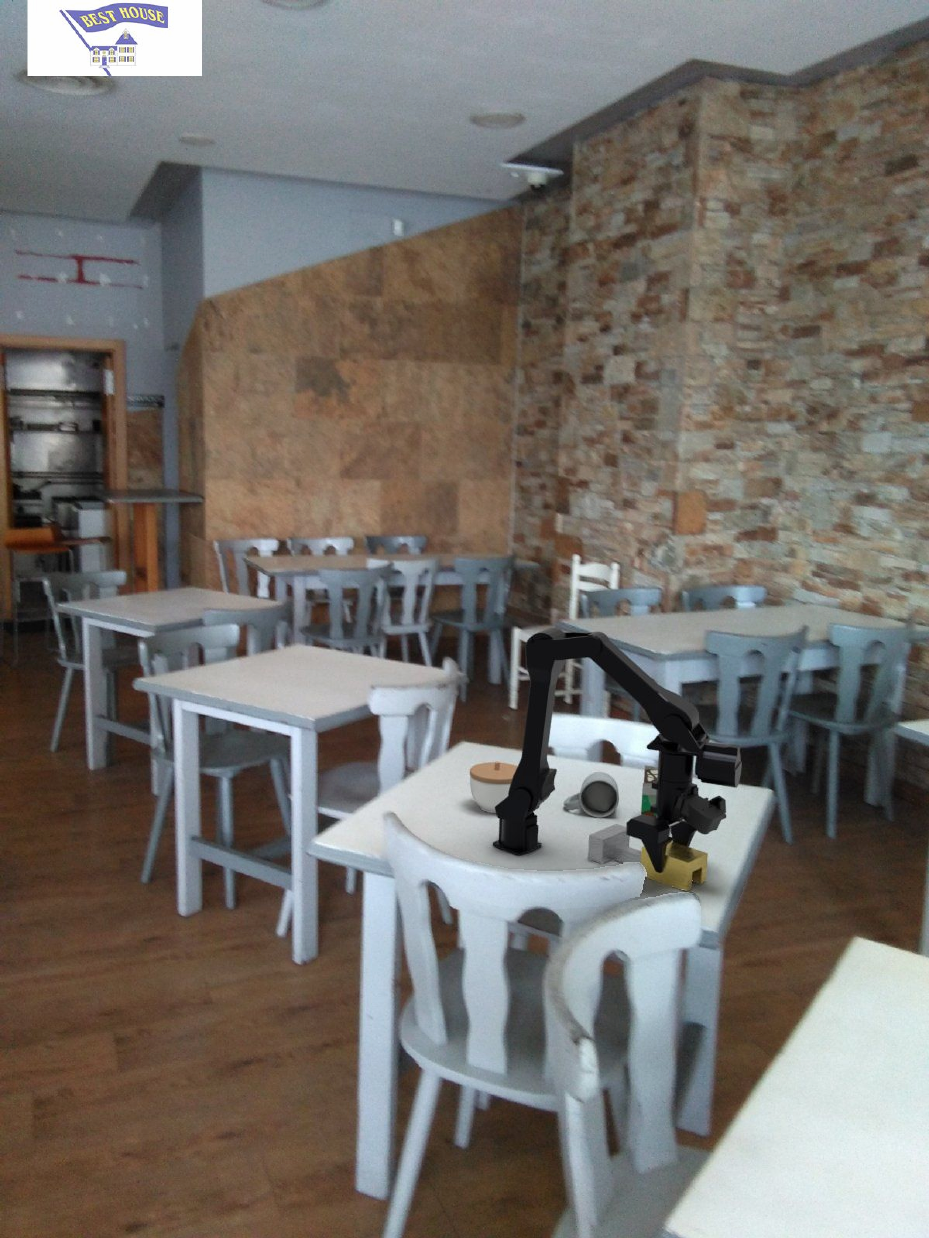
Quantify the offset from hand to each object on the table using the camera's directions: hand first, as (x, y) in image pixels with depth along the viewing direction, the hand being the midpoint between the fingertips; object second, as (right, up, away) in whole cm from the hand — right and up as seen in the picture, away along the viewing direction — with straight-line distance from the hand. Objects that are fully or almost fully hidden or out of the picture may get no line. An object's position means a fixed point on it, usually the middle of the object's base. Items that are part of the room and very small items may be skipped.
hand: (669, 867), depth 176 cm
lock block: (+1, -2, 0) cm, 2 cm away
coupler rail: (-6, -1, +6) cm, 9 cm away
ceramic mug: (-9, +3, +31) cm, 33 cm away
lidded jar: (-28, +4, +31) cm, 42 cm away
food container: (+2, +2, +24) cm, 24 cm away
